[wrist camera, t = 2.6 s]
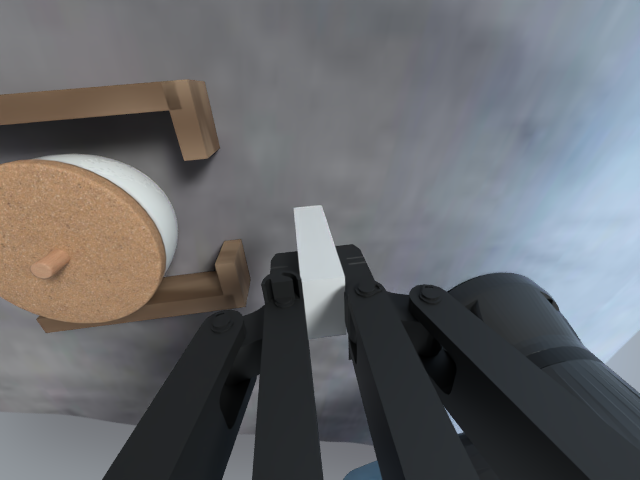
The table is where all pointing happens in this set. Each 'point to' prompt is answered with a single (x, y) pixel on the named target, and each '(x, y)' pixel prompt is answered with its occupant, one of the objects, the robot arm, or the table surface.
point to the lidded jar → (82, 237)
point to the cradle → (195, 143)
